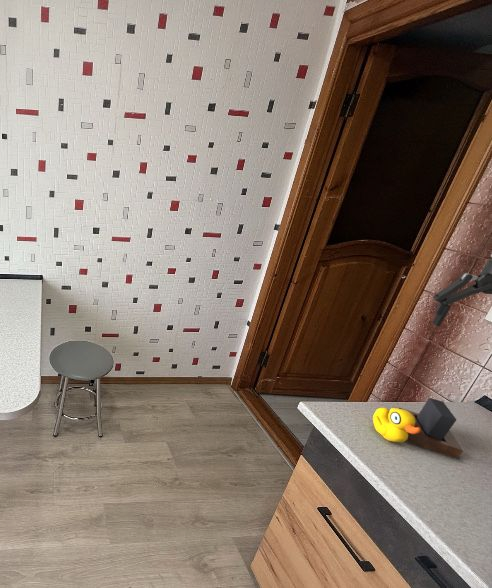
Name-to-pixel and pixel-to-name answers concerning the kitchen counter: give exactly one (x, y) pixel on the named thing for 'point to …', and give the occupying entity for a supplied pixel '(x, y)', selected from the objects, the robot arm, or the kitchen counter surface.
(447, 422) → the dark grey rectangular block
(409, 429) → the duckling
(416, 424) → the seat base
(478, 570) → the kitchen counter surface
